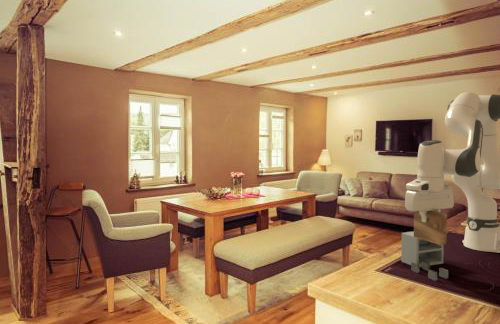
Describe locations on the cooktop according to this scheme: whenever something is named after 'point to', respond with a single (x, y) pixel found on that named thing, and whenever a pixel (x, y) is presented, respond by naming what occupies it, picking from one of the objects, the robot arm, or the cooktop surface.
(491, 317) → the cooktop surface
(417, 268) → the hinge clips
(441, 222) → the door
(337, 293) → the cooktop surface
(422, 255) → the cabinet
